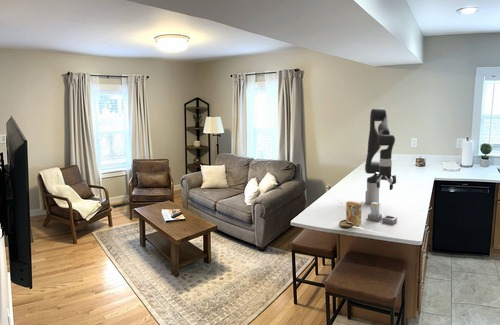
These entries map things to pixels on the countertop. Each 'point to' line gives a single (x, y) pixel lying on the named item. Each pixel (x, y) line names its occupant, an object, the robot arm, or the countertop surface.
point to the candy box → (353, 212)
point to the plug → (374, 208)
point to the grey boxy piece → (383, 219)
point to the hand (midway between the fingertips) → (384, 188)
